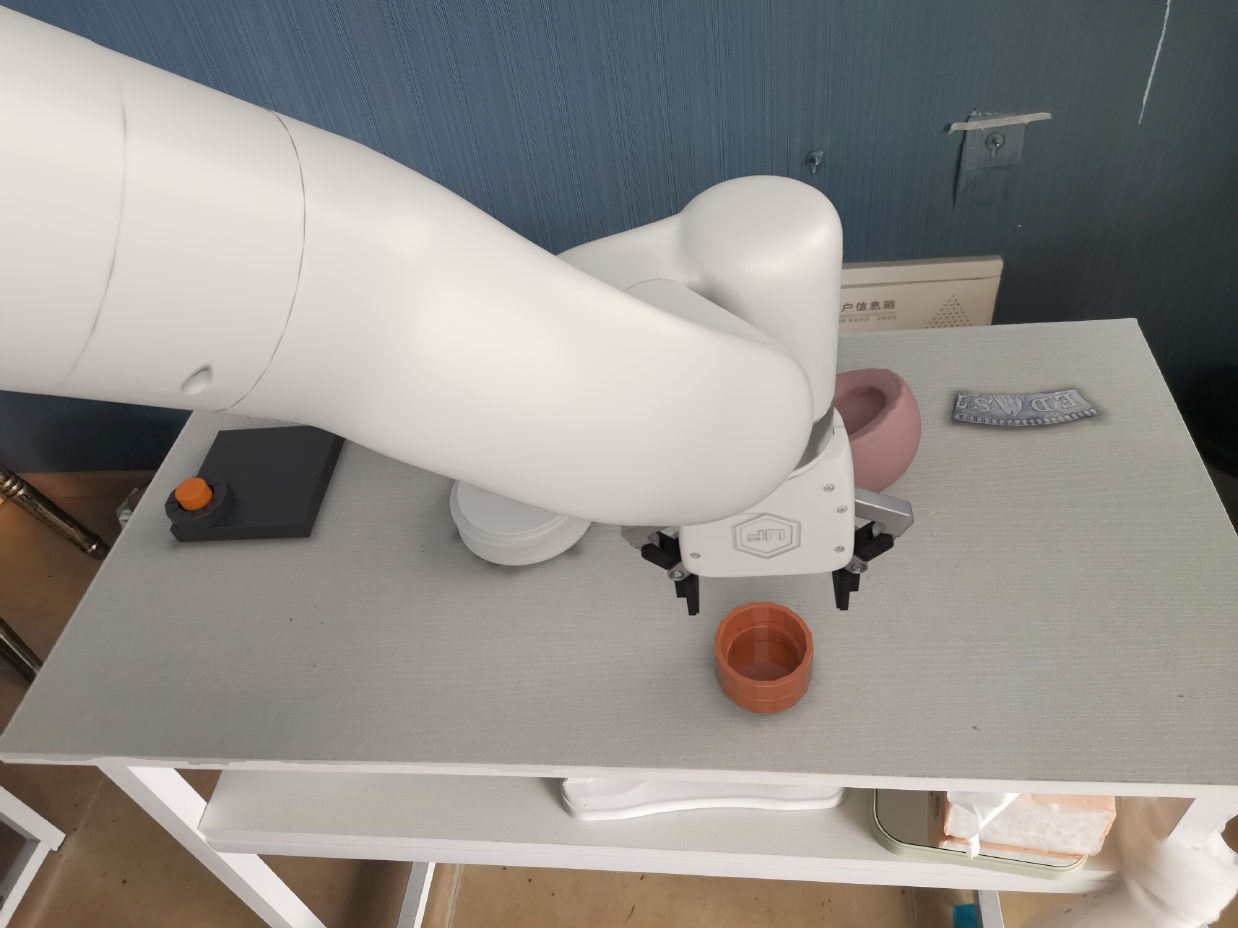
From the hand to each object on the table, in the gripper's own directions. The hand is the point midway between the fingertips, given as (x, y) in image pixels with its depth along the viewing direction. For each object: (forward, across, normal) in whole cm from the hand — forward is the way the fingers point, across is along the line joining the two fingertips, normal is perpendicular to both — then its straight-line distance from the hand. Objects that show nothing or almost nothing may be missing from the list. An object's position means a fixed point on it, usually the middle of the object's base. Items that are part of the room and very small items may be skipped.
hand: (766, 594), depth 59 cm
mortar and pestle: (+11, +8, +19) cm, 23 cm away
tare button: (+7, -51, +17) cm, 55 cm away
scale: (+10, -47, +21) cm, 53 cm away
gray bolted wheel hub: (+10, -20, +16) cm, 28 cm away
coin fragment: (+11, +25, +26) cm, 37 cm away
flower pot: (+10, 0, 0) cm, 10 cm away
